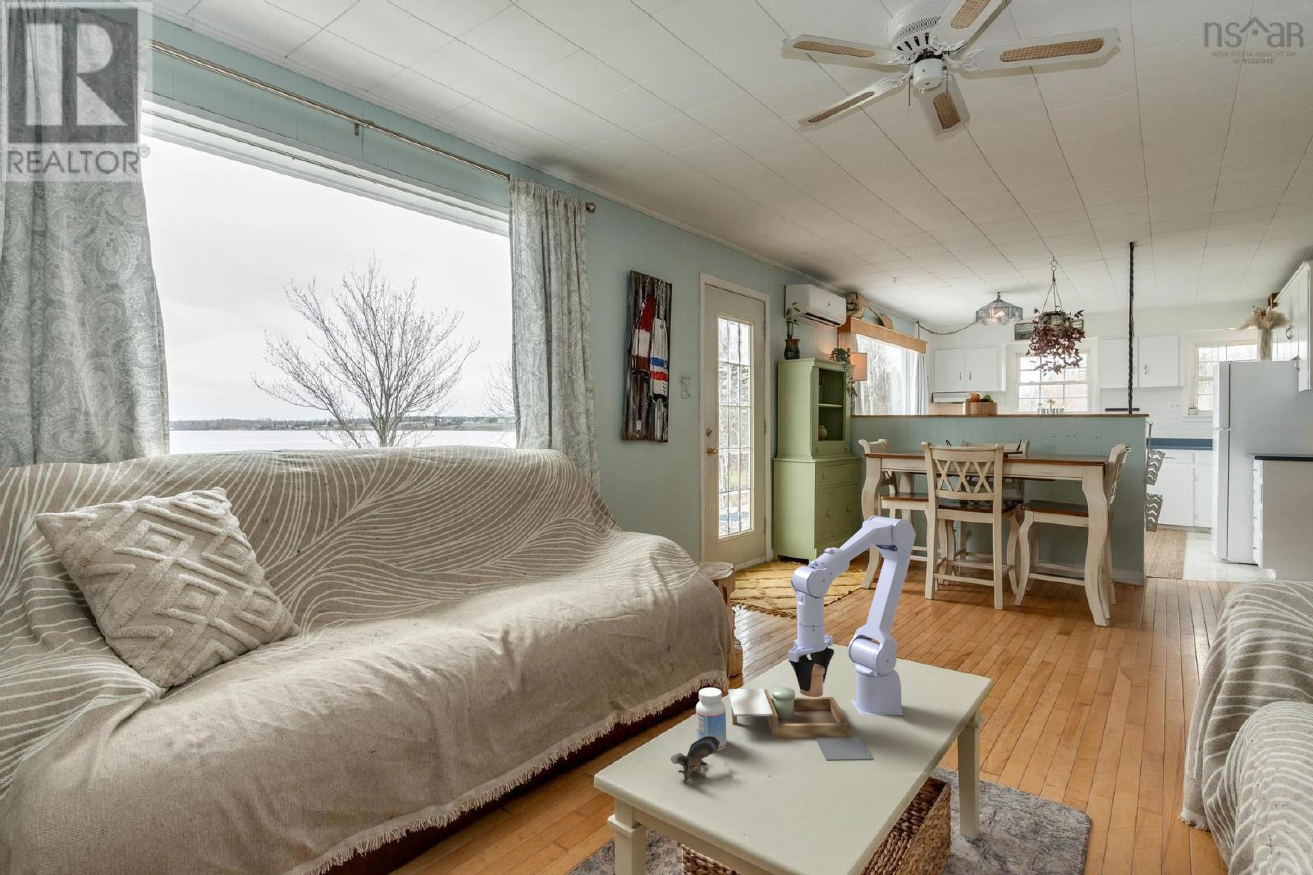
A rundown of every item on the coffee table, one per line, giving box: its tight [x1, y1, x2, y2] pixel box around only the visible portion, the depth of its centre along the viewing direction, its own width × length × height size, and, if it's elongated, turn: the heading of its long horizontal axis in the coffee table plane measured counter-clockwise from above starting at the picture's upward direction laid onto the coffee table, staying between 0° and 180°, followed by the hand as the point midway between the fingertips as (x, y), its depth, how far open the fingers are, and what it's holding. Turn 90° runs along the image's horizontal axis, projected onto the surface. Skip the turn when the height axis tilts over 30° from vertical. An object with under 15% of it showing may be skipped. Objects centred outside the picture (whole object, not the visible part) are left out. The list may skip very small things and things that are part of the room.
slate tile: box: [814, 735, 874, 762], centre depth 128 cm, size 9×9×1 cm
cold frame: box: [727, 688, 852, 739], centre depth 140 cm, size 24×14×5 cm, turn 89°
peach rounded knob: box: [799, 664, 825, 697], centre depth 139 cm, size 5×5×6 cm
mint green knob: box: [771, 686, 796, 720], centre depth 143 cm, size 5×5×6 cm
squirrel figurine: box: [670, 736, 719, 784], centre depth 122 cm, size 8×7×9 cm
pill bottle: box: [695, 687, 727, 752], centre depth 132 cm, size 6×6×11 cm
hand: (812, 685), depth 139 cm, fingers closed on peach rounded knob, 5 cm apart
